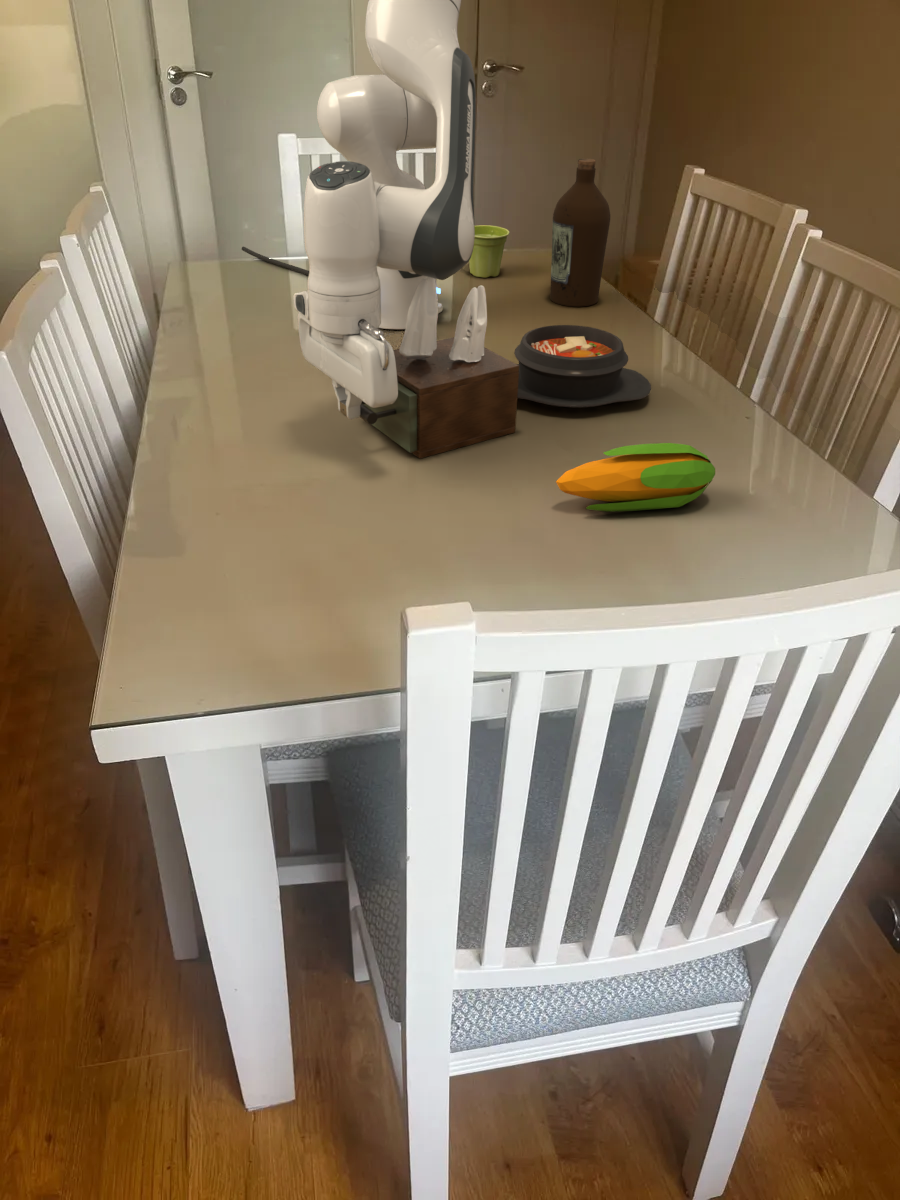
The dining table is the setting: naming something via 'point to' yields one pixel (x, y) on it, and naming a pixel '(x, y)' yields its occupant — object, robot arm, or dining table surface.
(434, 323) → the shaker set
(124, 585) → the dining table surface
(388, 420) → the drawer
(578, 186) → the olive oil
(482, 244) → the plant pot
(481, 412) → the cabinet
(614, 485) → the corn
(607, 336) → the casserole
